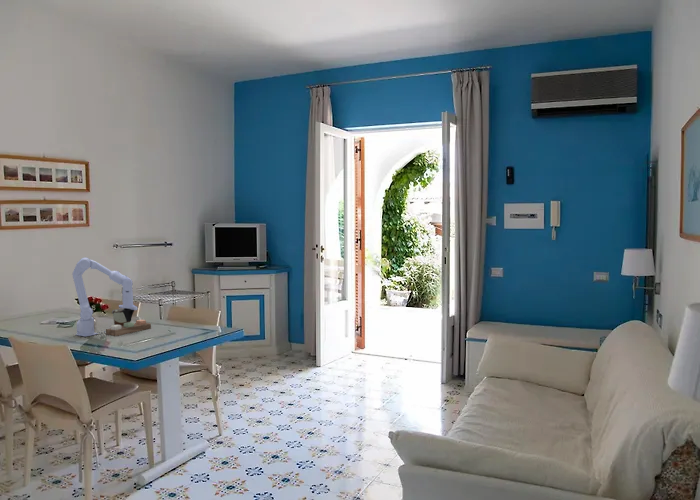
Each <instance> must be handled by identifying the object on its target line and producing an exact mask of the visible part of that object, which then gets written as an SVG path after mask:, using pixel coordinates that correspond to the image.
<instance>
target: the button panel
mask: <svg viewBox="0 0 700 500" xmlns="http://www.w3.org/2000/svg"><path fill="white" fill-rule="evenodd" d="M133 323H134V326H133V327H124V326H121V329H118V330H111V327H110V328H106V329H105V335H106V336H113V337H118V336H123V335H127V334H128V335H129V334H133V333H136V332H141V331H145V330H149V329H152V323H150V322H149V323H148V322H146V324H142V325H138V324H136V322H133Z"/></svg>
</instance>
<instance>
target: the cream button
mask: <svg viewBox="0 0 700 500" xmlns="http://www.w3.org/2000/svg"><path fill="white" fill-rule="evenodd" d="M110 328H111V330H118V329H121V325H110Z"/></svg>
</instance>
